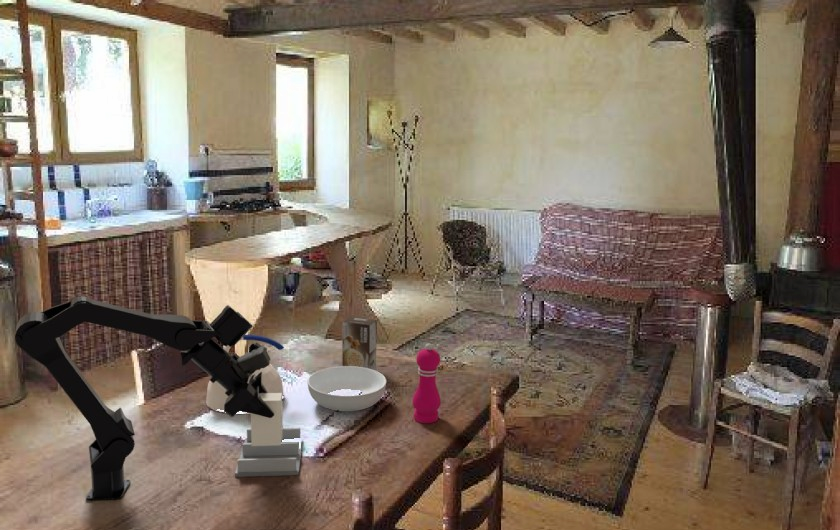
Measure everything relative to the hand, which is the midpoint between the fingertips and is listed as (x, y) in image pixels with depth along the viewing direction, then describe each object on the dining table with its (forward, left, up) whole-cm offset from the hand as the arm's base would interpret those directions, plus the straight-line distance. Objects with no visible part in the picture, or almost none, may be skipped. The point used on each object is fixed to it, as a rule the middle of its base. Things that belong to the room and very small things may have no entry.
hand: (273, 411), depth 137 cm
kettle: (+37, +11, -13) cm, 41 cm away
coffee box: (+57, -20, -13) cm, 62 cm away
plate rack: (+4, +1, -13) cm, 14 cm away
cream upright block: (0, +1, -7) cm, 7 cm away
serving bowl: (+33, -16, -13) cm, 39 cm away
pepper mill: (+23, -36, -13) cm, 45 cm away
